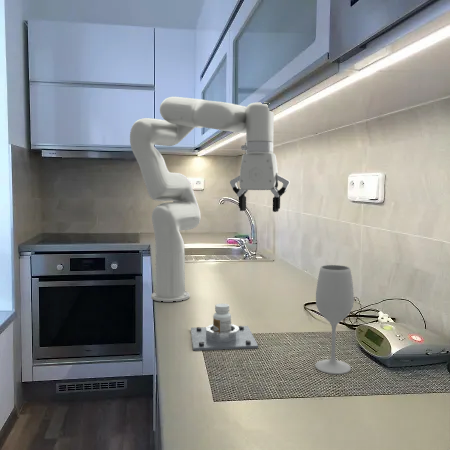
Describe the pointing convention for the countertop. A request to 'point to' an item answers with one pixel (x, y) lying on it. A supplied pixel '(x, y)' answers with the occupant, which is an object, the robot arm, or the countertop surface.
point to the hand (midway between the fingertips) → (259, 211)
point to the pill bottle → (222, 318)
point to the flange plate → (203, 343)
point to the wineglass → (334, 308)
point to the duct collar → (222, 334)
